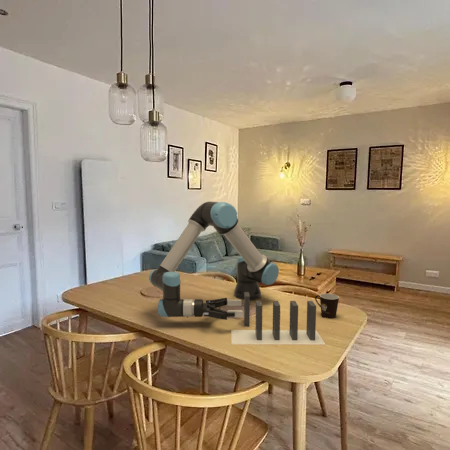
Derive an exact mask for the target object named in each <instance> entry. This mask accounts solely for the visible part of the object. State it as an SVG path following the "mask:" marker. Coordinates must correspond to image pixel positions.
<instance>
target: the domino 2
mask: <svg viewBox="0 0 450 450" xmlns="http://www.w3.org/2000/svg"><path fill="white" fill-rule="evenodd" d="M255 330H256V338H257V340H262V330H263V303H262V300H255Z"/></svg>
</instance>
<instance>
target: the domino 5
mask: <svg viewBox="0 0 450 450" xmlns="http://www.w3.org/2000/svg"><path fill="white" fill-rule="evenodd" d="M306 303H307V304H306V330H307V331H306V334H307V336H308V337H309V339H310V340H315V331H317V330H316V328H317V327H316V326H317V325H316V324H317V305H316V304H315V303H314V300H307V302H306Z"/></svg>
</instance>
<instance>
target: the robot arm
mask: <svg viewBox="0 0 450 450" xmlns="http://www.w3.org/2000/svg"><path fill="white" fill-rule="evenodd" d="M209 226H210V227H213V228H214V229H215V231H216V232H217V233H218V234H219V235H222V236H224V237H225V238H226V239H227V241H228V242H229V243H230V244H231V246H232V247H233V248H234V250H236V252H237V253H238V255H240V256H238V257H237V262H236V267H237V268H236V269H237V278H236V280H237V281H236V282H237V283H236V285H235V288H234V294H233V296H234V297H235V298H237V299H228V297H222V298H216V299H207V300H205V302H204V300H203V298H198V299H197V298H196V299H193V298H181V282H182V281H181V275H180V273H179V272H177V269H178V267H179V266H180V265H181V263H182V261H183V259H185V257H186V256H187V253H189V251H190V250H191V248H192V246H193V245H195V244H194V243H195V242H196V241H197V239H198V238H199V236H200V234H201V233H203V232H205V231H206V229H207V228H208V227H209ZM279 273H280V269H279V266H278V265H277V264H276V263H274V262H271V261H270V260H269V259H268V257H267V256H266V255H265V254H263V253H262V254H261V252H260V251H259V250H258V249H257V247H256V246H255V245H254V243H253V242H252V241H251V239H250V238H249V237H248V235H247V234H246V233H245V232H244V230H243V229H242V227H241V226H240V225H239V218H238V212H237V209H236V208H235V206H233V205H232V204H231V203H228V202H226V201H206V202H205V201H204V202H203V203H201V204H200V205H199V206H198V207H197V208H196V209H195V210H194V211H193V213H192V214H191V216H190V217H189V219H188V224H187V225H186V227H185V228H184V230H183V231H182V233H181V234H180V236H178V239H177V240H176V242H174V244H173V245H172V247H171V249H170V250H169V251H168V253H167V255H166V256H165V258H164V259H163V260H162V262H161V263H160V264H159V266H158V267H157V269H154V270H152V271H151V272H150V273H149V274H148V275H149V276H148V281H149V283H150V284H151V285H153V287H155V288H157V289H159V290H161V291H162V296H163V297H162V298H160V299H158V300H159V301H158V303H157V314H158V316H160V317H165V318H166V317H167V318H179V317H180V318H182V317H183V318H185V317H186V318H190V317H195V318H199V317H200V318H202V317H206V318H215V319H219V320H223V321H224V320H228V318H244V309H243V310H234V309H233V310H227V311H226V310H223V309H220V308H221V307H225V306H227V307H242V300H244V292H249V295H250V300H257V299H260V298H261V296H262V292H261V288H260V285H259V283H261V284H262V285H267V286H270V285H273V284H274V283H275V282H276V281H277V280H278V277H279Z"/></svg>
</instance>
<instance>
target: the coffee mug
mask: <svg viewBox="0 0 450 450" xmlns="http://www.w3.org/2000/svg"><path fill="white" fill-rule="evenodd" d="M317 297H318V298H319V302H318V299H317ZM314 300H315V302H316V304H317V305H318V307H320V313H321V314H320V315H321V318H322V319H330V320H331V319H336V318H337V312H338V306H339V300H340V296H339V295H337V294H334V293H321V294H319V295H316V296H315V299H314ZM319 303H320V304H319Z"/></svg>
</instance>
